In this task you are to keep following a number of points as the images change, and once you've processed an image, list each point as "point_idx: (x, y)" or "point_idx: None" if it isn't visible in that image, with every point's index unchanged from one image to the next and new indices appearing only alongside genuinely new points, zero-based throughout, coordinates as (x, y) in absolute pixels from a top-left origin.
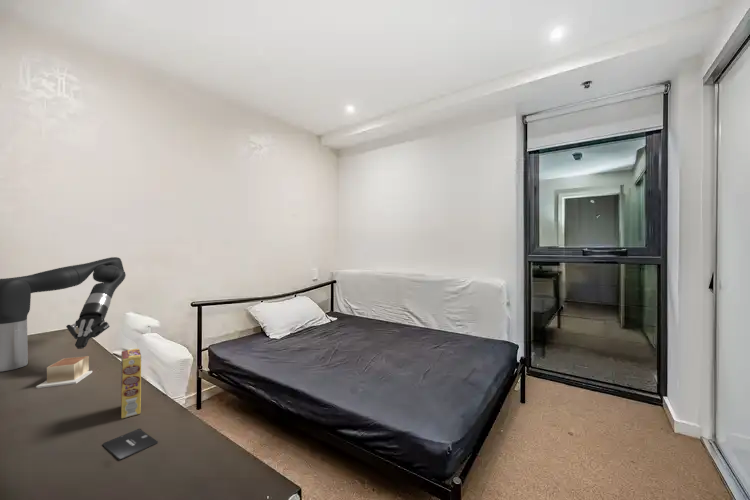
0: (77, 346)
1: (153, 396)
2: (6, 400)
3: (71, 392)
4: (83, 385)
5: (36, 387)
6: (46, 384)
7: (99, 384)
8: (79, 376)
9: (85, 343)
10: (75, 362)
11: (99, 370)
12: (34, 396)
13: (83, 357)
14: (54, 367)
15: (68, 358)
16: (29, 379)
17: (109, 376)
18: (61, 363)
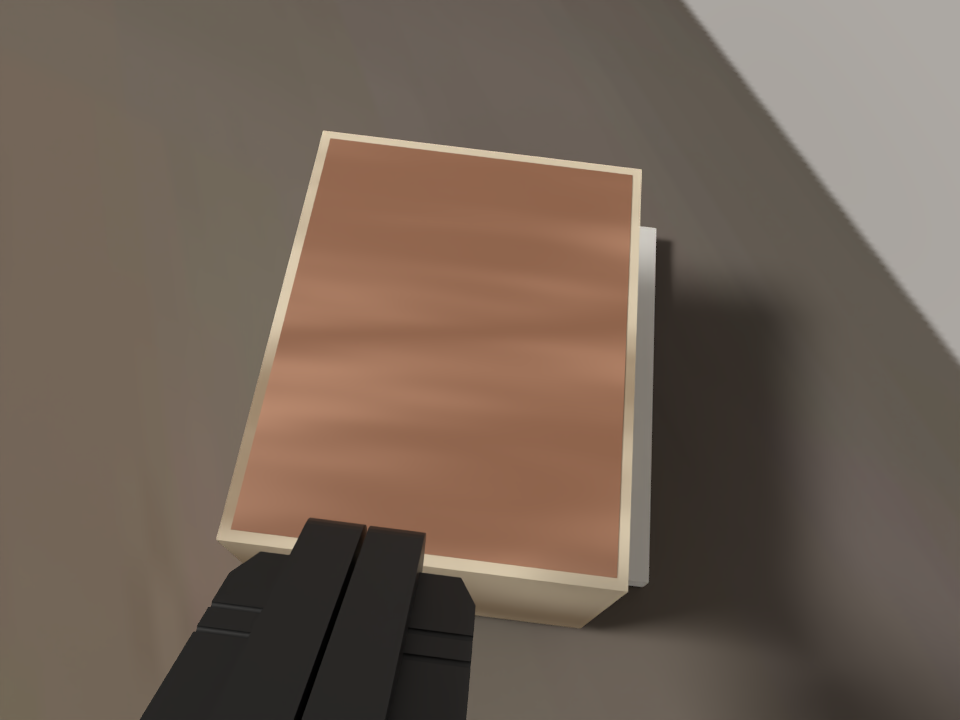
0: (396, 536)
1: None
2: (736, 69)
3: (291, 8)
4: (233, 119)
5: (651, 235)
6: None
7: (98, 79)
8: None
9: (220, 611)
10: (332, 215)
11: (149, 585)
12: (555, 54)
13: (285, 465)
14: (552, 168)
15: (536, 536)
16: (943, 632)
17: (18, 261)
18: (523, 266)
